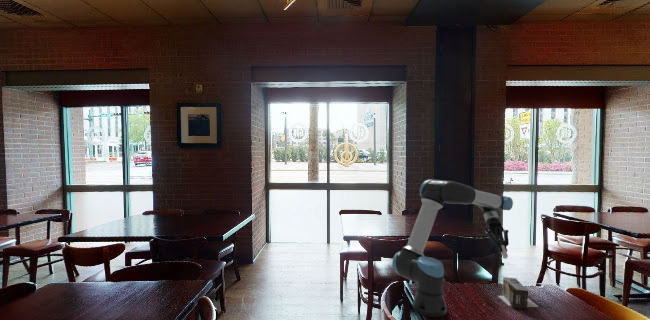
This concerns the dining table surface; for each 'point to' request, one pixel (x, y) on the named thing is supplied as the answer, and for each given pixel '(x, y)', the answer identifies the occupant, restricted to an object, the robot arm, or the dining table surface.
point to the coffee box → (515, 293)
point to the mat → (529, 304)
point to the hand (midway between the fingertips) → (505, 257)
